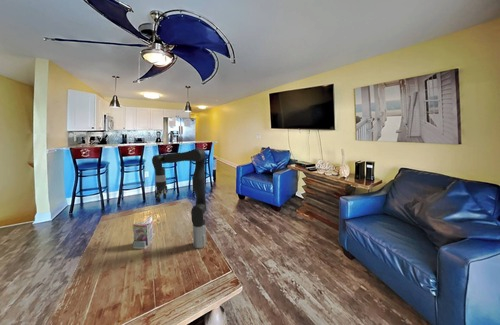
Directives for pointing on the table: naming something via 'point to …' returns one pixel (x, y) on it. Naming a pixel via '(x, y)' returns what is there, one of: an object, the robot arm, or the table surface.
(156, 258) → the table surface
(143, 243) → the slotted rack
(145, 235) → the candy bar box
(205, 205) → the robot arm
